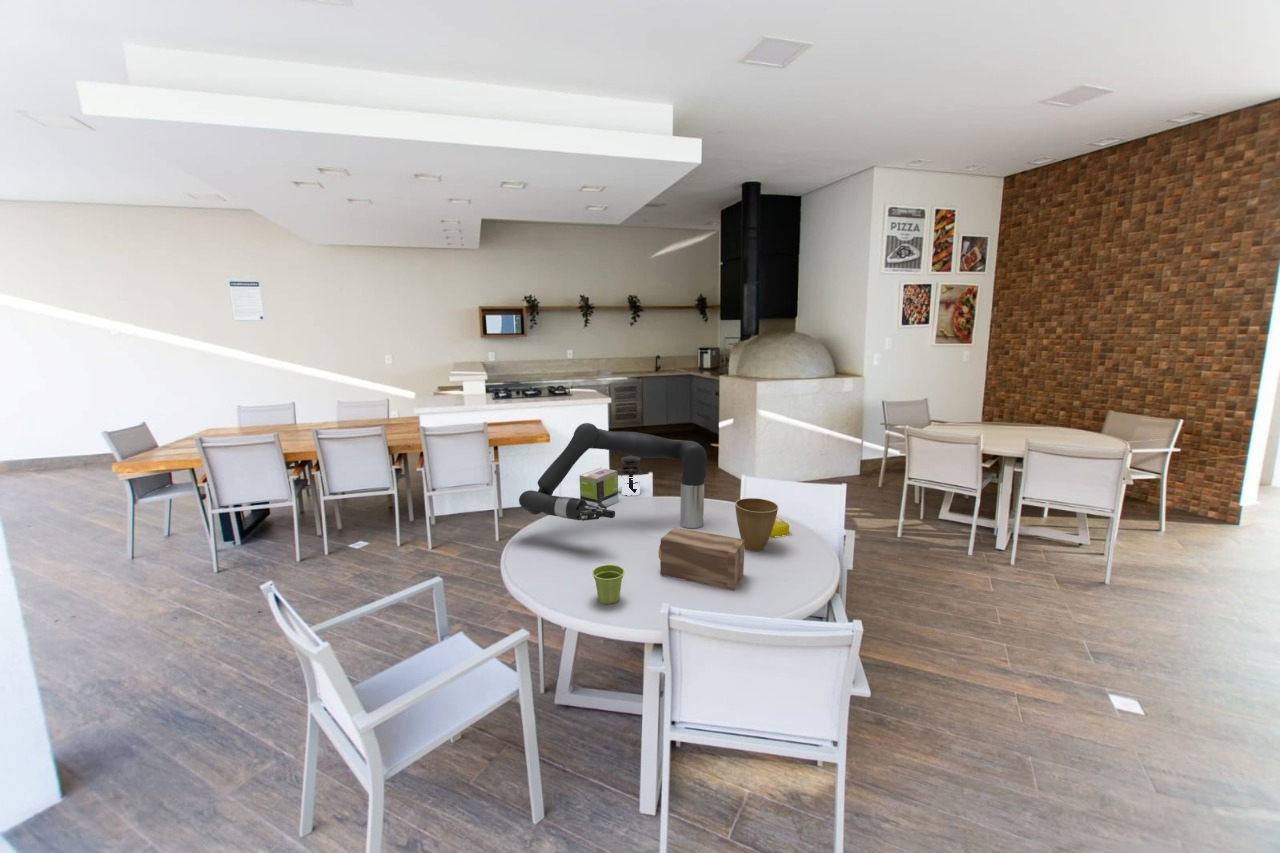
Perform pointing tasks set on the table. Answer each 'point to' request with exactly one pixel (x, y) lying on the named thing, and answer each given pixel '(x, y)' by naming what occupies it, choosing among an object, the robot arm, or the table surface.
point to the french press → (630, 469)
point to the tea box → (599, 486)
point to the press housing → (702, 558)
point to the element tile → (780, 528)
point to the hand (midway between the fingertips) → (614, 514)
